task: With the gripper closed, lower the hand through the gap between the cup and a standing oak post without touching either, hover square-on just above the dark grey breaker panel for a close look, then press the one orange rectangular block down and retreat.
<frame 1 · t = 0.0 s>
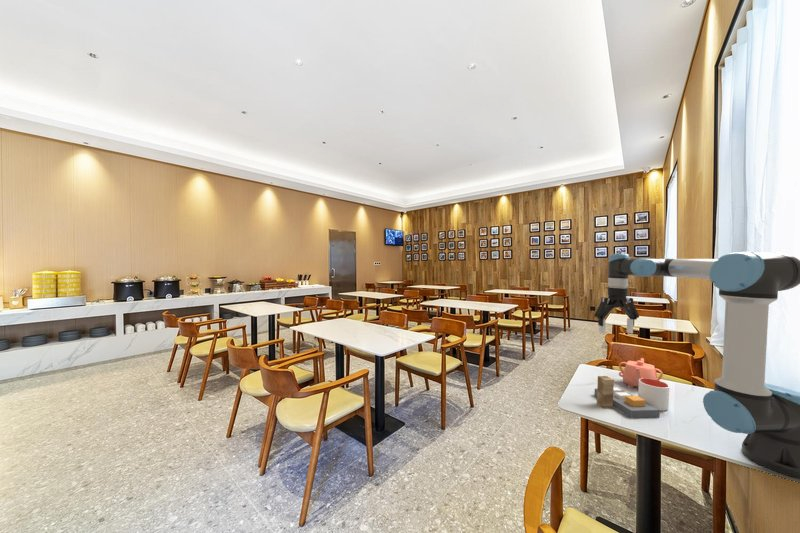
hand: (615, 332, 141), 28 cm above the table, fingers open, 13 cm apart
oak post: (604, 405, 129), on the table
orange rectangular block: (634, 402, 124), point 4 cm above the table, slide at 0.0 cm
cup: (652, 406, 129), on the table
breaker panel: (624, 405, 129), on the table
teapot: (639, 386, 149), on the table
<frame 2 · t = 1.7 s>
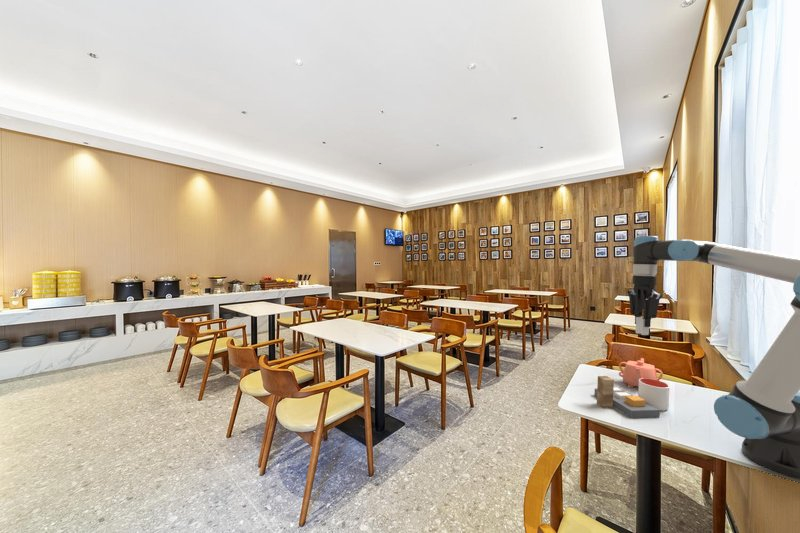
hand: (642, 333, 121), 32 cm above the table, fingers closed
nothing on the table moved.
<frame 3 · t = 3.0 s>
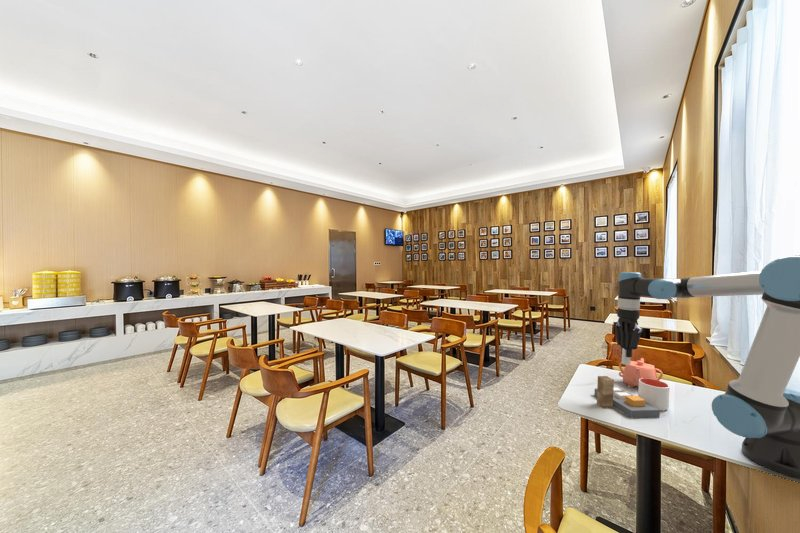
hand: (625, 363, 129), 18 cm above the table, fingers closed
nothing on the table moved.
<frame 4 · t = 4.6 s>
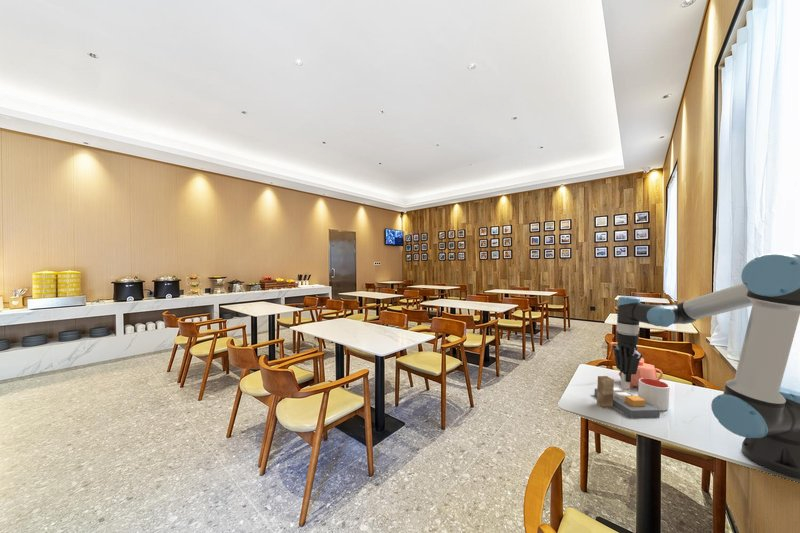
hand: (625, 388, 129), 7 cm above the table, fingers closed
nothing on the table moved.
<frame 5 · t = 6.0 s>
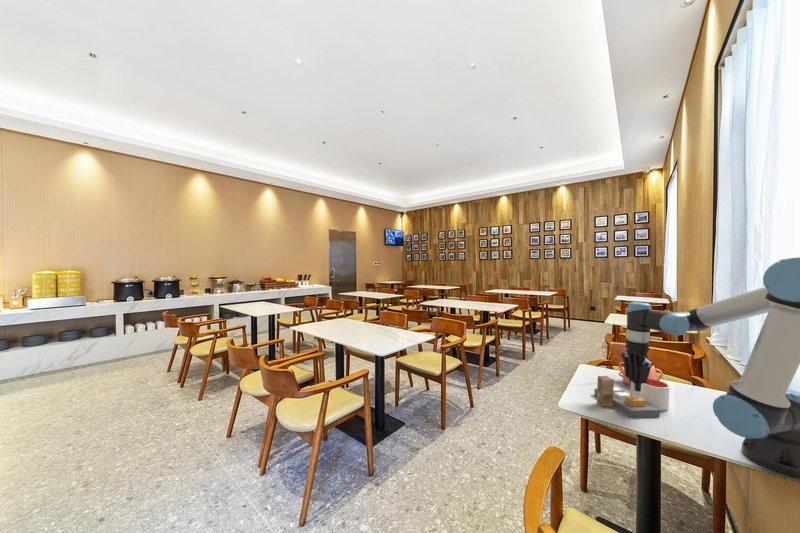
hand: (634, 397, 124), 6 cm above the table, fingers closed
orange rectangular block: (634, 402, 124), point 4 cm above the table, slide at 0.1 cm, touching gripper
everything else where it was.
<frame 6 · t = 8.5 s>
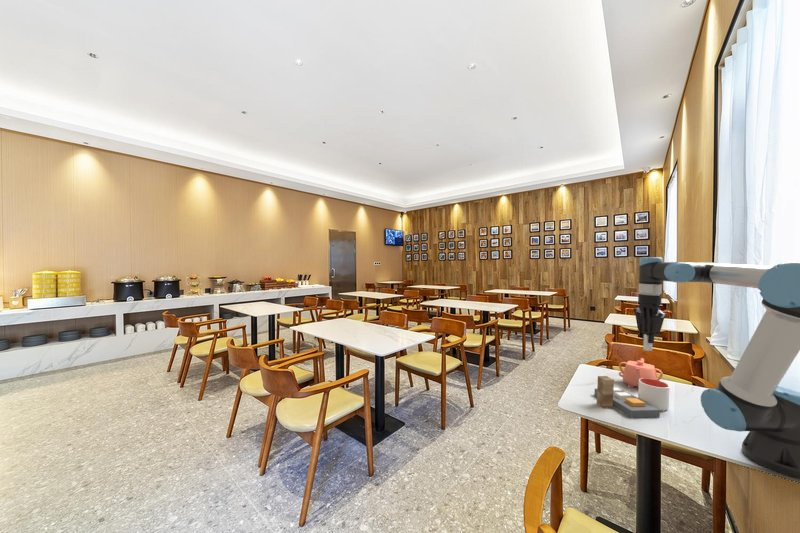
hand: (647, 350, 127), 24 cm above the table, fingers closed
orange rectangular block: (634, 404, 124), point 3 cm above the table, slide at 1.0 cm
everything else where it was.
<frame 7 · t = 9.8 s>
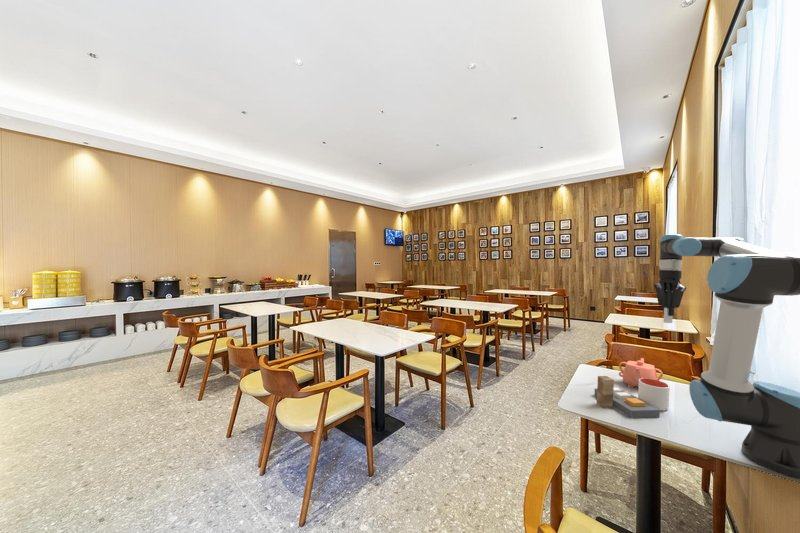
hand: (667, 322, 135), 34 cm above the table, fingers closed
nothing on the table moved.
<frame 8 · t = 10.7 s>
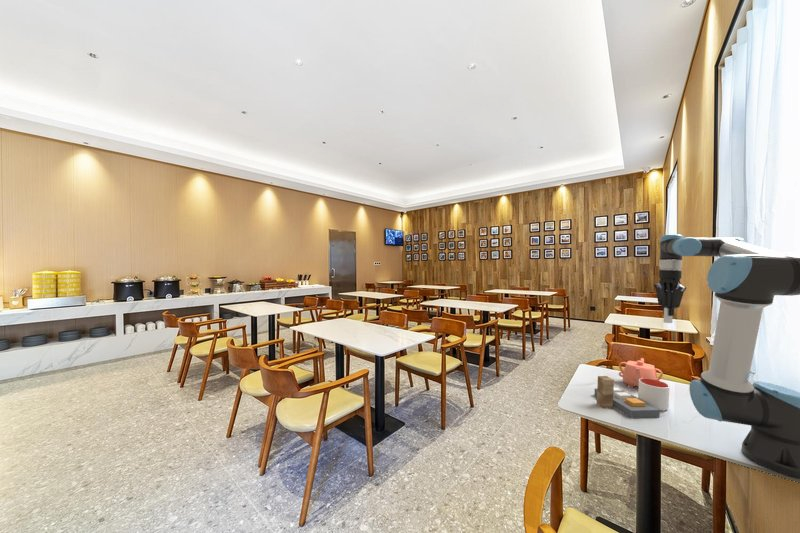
hand: (667, 322, 135), 34 cm above the table, fingers closed
nothing on the table moved.
at the end: orange rectangular block slide at 1.0 cm; oak post moved 0.0 cm from its start; cup moved 0.3 cm from its start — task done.
